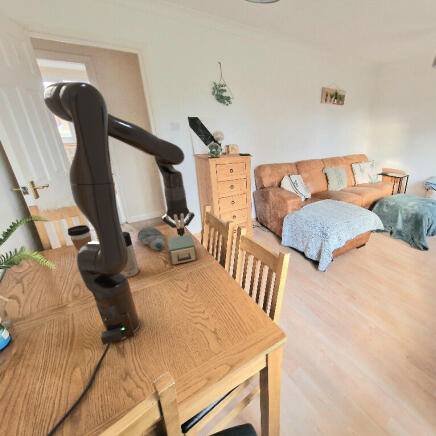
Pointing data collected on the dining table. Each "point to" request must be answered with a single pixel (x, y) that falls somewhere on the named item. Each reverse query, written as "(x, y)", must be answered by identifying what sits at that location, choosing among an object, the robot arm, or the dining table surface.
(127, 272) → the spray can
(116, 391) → the dining table surface
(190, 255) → the drawer
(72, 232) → the coffee cup
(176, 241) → the cabinet
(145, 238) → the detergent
